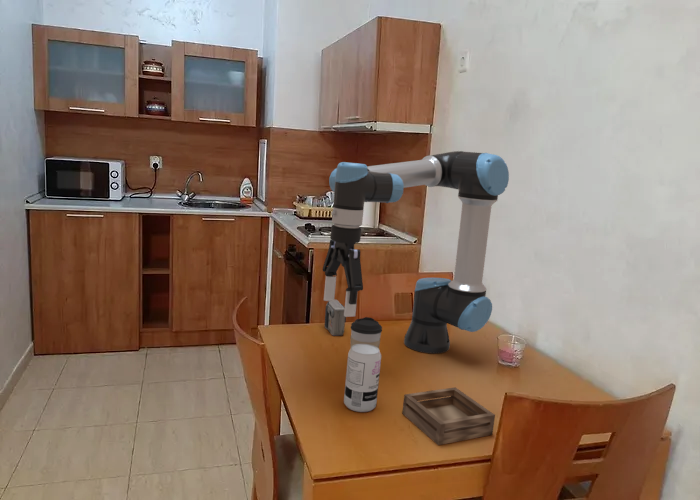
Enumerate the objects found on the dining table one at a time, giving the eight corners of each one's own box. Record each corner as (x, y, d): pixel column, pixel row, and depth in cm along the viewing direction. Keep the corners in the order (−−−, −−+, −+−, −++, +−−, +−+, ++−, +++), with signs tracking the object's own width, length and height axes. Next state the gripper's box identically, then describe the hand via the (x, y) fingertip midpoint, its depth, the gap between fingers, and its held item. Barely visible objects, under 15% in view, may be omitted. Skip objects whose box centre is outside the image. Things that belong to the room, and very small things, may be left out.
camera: (323, 325, 199) (325, 298, 197) (338, 325, 200) (341, 298, 199) (329, 336, 188) (331, 308, 186) (346, 336, 190) (348, 308, 188)
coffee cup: (375, 378, 157) (380, 327, 155) (343, 373, 159) (348, 322, 156) (380, 366, 166) (384, 318, 163) (350, 361, 168) (354, 314, 165)
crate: (453, 405, 145) (455, 387, 144) (492, 434, 131) (495, 414, 130) (402, 413, 138) (404, 394, 137) (438, 445, 124) (440, 424, 124)
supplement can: (342, 397, 144) (347, 342, 141) (374, 398, 145) (379, 343, 142) (344, 412, 136) (350, 354, 133) (378, 413, 137) (384, 355, 134)
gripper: (314, 217, 148) (308, 294, 152) (353, 233, 126) (344, 324, 130) (340, 218, 151) (333, 294, 155) (382, 234, 129) (373, 322, 133)
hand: (338, 308), depth 142 cm, fingers open, 13 cm apart
